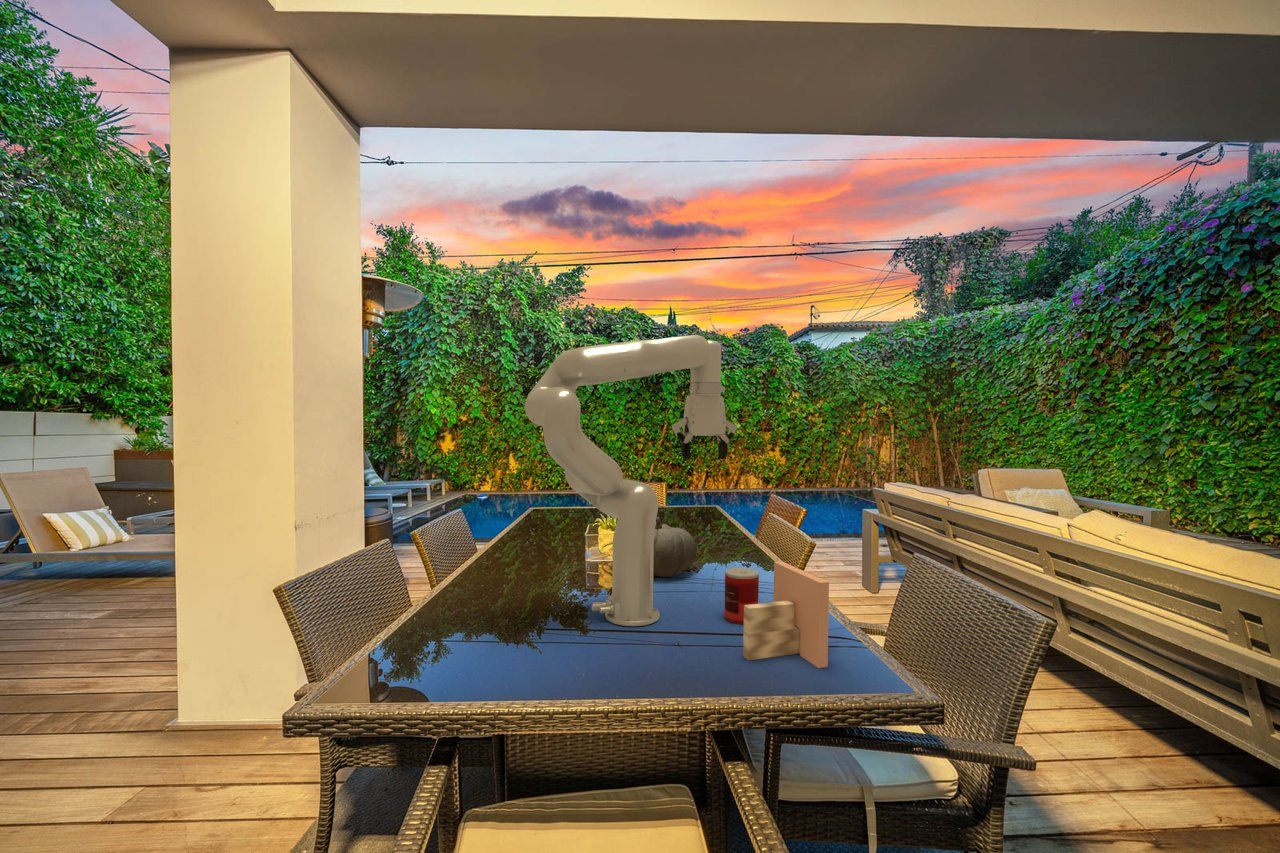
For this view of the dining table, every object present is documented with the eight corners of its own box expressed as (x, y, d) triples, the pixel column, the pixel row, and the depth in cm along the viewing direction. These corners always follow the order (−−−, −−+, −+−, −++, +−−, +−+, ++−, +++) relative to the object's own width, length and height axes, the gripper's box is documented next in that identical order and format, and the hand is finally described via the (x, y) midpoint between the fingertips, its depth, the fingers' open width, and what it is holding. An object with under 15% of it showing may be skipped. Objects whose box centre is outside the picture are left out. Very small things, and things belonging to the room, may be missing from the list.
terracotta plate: (818, 668, 107) (819, 582, 106) (772, 636, 122) (774, 562, 122) (827, 666, 107) (829, 582, 107) (781, 635, 122) (782, 561, 122)
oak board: (748, 660, 110) (749, 608, 110) (743, 656, 112) (743, 605, 111) (827, 649, 116) (827, 600, 115) (821, 645, 117) (821, 597, 117)
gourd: (602, 571, 162) (611, 510, 164) (619, 564, 186) (627, 511, 188) (689, 586, 157) (698, 523, 159) (695, 577, 181) (702, 522, 184)
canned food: (761, 615, 135) (762, 569, 135) (753, 626, 128) (754, 577, 127) (729, 610, 138) (730, 565, 138) (720, 621, 131) (720, 573, 131)
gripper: (729, 392, 149) (728, 457, 149) (667, 390, 144) (666, 458, 144) (743, 390, 142) (742, 459, 142) (678, 389, 137) (677, 460, 137)
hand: (704, 459), depth 143 cm, fingers open, 9 cm apart
